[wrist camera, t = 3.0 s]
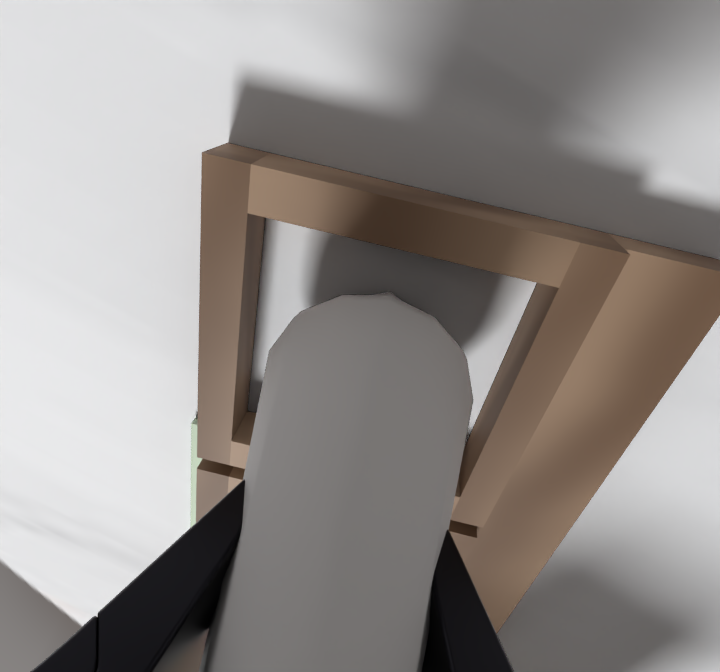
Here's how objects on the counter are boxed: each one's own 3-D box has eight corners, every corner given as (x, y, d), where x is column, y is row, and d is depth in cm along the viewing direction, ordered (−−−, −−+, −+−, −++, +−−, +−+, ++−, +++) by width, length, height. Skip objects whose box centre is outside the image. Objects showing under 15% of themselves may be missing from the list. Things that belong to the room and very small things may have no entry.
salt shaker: (263, 281, 14) (-322, 1037, 3) (449, 245, 13) (557, 1344, 2) (318, 425, 17) (103, 1105, 6) (477, 408, 16) (587, 1250, 5)
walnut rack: (719, 259, 12) (755, 284, 11) (465, 649, 23) (467, 686, 22) (227, 143, 12) (201, 152, 11) (208, 585, 23) (194, 617, 22)
